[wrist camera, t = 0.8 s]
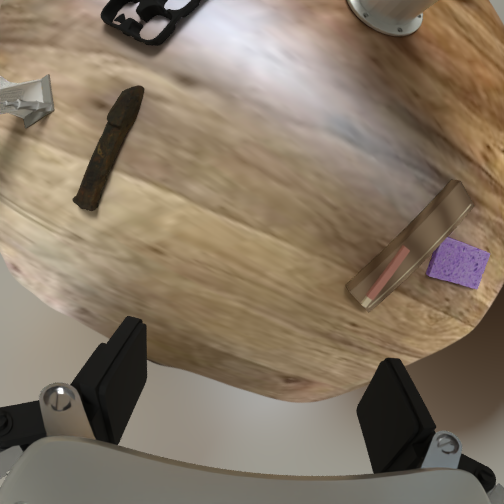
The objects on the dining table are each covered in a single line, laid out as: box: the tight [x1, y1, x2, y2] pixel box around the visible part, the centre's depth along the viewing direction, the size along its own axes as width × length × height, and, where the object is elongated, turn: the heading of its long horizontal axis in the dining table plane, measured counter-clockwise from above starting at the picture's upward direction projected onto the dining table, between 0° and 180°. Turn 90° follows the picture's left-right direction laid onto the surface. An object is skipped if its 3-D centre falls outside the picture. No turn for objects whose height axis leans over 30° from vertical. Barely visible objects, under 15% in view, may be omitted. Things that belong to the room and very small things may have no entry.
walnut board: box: [346, 179, 474, 312], centre depth 41 cm, size 24×5×3 cm, turn 135°
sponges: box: [426, 237, 490, 289], centre depth 42 cm, size 7×13×2 cm, turn 77°
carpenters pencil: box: [360, 245, 410, 308], centre depth 41 cm, size 10×1×1 cm, turn 148°
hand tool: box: [73, 86, 144, 211], centre depth 37 cm, size 19×4×5 cm, turn 147°
